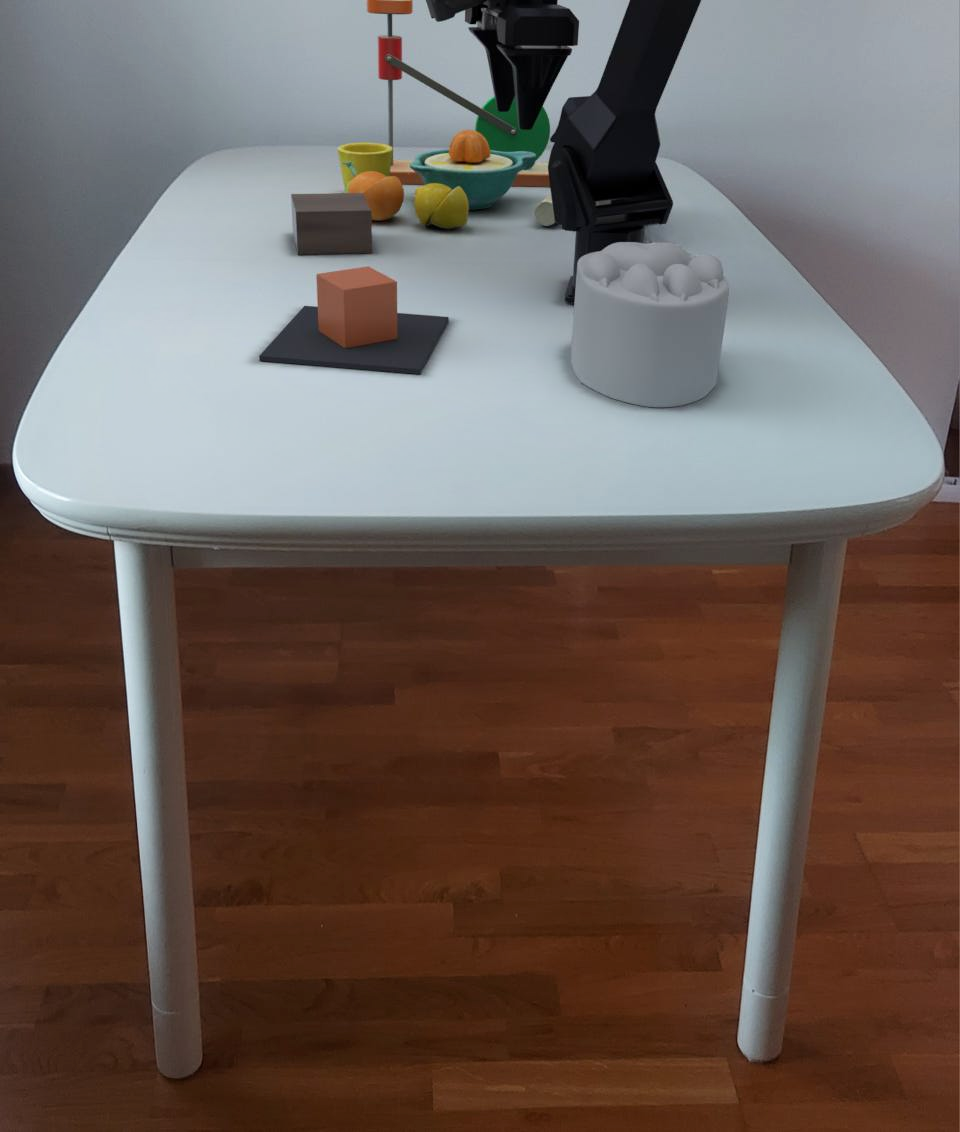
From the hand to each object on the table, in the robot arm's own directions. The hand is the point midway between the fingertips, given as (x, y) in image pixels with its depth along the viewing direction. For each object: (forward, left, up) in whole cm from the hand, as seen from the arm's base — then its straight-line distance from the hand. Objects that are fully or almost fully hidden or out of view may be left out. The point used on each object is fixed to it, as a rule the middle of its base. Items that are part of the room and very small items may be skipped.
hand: (513, 120), depth 107 cm
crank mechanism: (+30, +9, -12) cm, 34 cm away
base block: (-2, +17, -12) cm, 21 cm away
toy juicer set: (+14, +6, -12) cm, 20 cm away
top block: (-28, +8, -12) cm, 31 cm away
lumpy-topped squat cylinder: (-30, -14, -12) cm, 35 cm away
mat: (-28, +8, -12) cm, 31 cm away
